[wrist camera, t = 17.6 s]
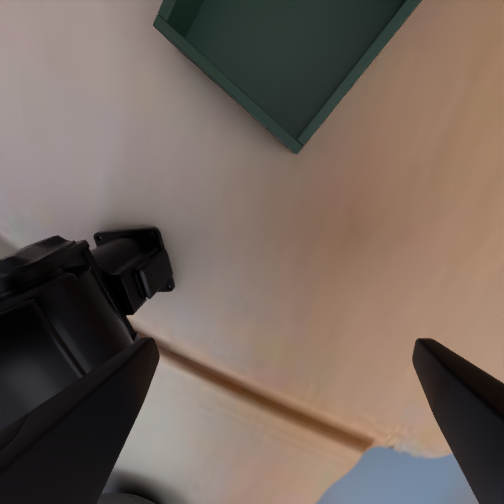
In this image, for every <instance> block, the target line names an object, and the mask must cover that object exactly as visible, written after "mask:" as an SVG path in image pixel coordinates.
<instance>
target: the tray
mask: <svg viewBox="0 0 504 504" xmlns="http://www.w3.org/2000/svg"><path fill="white" fill-rule="evenodd" d="M421 1H422V0H163V2H162V5H161V7H160V9H159V12H158V14H159V15H157V17H156V19H155V21H154V24H153V26H154V27H155V28H156V29H157V30H158V31H159V32H160V33H161V34H162V35H164V36H165V37H166V38H167V39H168V40H169V41H170V42H171V43H172V44H173V45H174V46H175V47H176V48H177V49H178V50H180V51H181V52H182V53H183V54H184V55H185V56H186V57H187V58H189V59H190V60H191V61H192V62H193V63H194V64H195V65H196V66H197V67H199V68H200V69H201V70H202V71H203V72H204V73H205V74H206V75H207V76H209V77H210V78H211V79H212V80H213V81H214V82H215V83H216V84H218V85H219V86H220V87H221V88H222V89H223V90H224V91H225V92H226V93H228V94H229V95H230V96H231V97H232V98H233V99H234V100H235V101H236V102H238V103H239V104H240V105H241V106H242V107H243V108H244V109H245V110H247V111H248V112H249V113H250V114H251V115H252V116H253V117H254V118H255V119H257V120H258V121H259V122H260V123H261V124H262V125H263V126H264V127H265V128H267V129H268V130H269V131H270V132H271V133H272V134H273V135H274V136H276V137H277V138H278V139H279V140H280V141H281V142H282V143H283V144H284V145H286V146H287V147H288V148H289V149H290V150H291V151H292V152H293V153H295V154H298V152H299V151H300V150H301V149H302V147H303V146H304V145H305V144H306V143H307V141H308V140H309V139H310V138H311V136H312V135H313V134H314V133H315V131H316V130H317V129H318V128H319V126H320V125H321V124H322V123H323V122H324V120H325V119H326V118H327V117H328V115H329V114H330V113H331V112H332V110H333V109H334V108H335V107H336V106H337V104H338V103H339V102H340V101H341V99H342V98H343V97H344V96H345V94H346V93H347V92H348V91H349V90H350V88H351V87H352V86H353V85H354V83H355V82H356V81H357V80H358V78H359V77H360V76H361V75H362V73H363V72H364V71H365V70H366V69H367V67H368V66H369V65H370V64H371V62H372V61H373V60H374V59H375V57H376V56H377V55H378V54H379V53H380V51H381V50H382V49H383V48H384V46H385V45H386V44H387V43H388V41H389V40H390V39H391V38H392V36H393V35H394V34H395V33H396V32H397V30H398V29H399V28H400V27H401V25H402V24H403V23H404V22H405V20H406V19H407V18H408V17H409V16H410V14H411V13H412V12H413V11H414V9H415V8H416V7H417V6H418V4H419V3H420V2H421Z"/></svg>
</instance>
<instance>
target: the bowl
mask: <svg viewBox="0 0 504 504" xmlns="http://www.w3.org/2000/svg"><path fill="white" fill-rule="evenodd" d="M97 504H156V503H154V502H152V501H149V500H147V499H145V498H142V497H140V496H137V495H134V494H127V493H105V494H101V495H100V497H99V499H98V502H97Z"/></svg>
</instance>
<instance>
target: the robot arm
mask: <svg viewBox="0 0 504 504" xmlns="http://www.w3.org/2000/svg"><path fill="white" fill-rule="evenodd" d="M153 232H155V234H156V235H154V234H153ZM99 236H100V237H101V239H100V237H99ZM94 240H95V243H96V245H97V248H95V249H93V250H91V251H90V250H89V248H88V247H90V246H89V244H88V242H87V240H86V239H85V240H81V241H77V242H75V241H69V240H68V241H67V240H65V239H64V238H62V237H60V236H58V235H57V236H53V237H49V238H47V239H44V240H41V241H39V242H36V243H33V244H31V245H28V246H26V247H23V248H21V249H19V250H17V251H15V252H13V253H12V254H10V255H7V256H5V257H4V258H2V259H0V504H97V502H98V499H99V497H100V495H101V493H102V491H103V489H104V487H105V484H106V482H107V480H108V478H109V476H110V474H111V472H112V469H113V467H114V465H115V463H116V461H117V459H118V457H119V454H120V452H121V450H122V448H123V446H124V444H125V442H126V439H127V437H128V435H129V433H130V431H131V429H132V427H133V424H134V422H135V420H136V418H137V416H138V414H139V412H140V409H141V407H142V405H143V403H144V400H145V397H146V395H147V392H148V389H149V387H150V384H151V381H152V378H153V376H154V373H155V370H156V367H157V365H158V362H159V357H160V355H159V351H158V348H157V345H156V343H155V340H154V339H153V338H151V337H144V338H141V339H139V338H140V337H139V336H138V334H137V332H135V331H134V330H133V328H132V326H131V324H130V322H129V320H128V319H127V317H126V316H127V315H133V314H134V313H135V312H136V311H137V310H138V309H139V308H140V307H141V306H142V305H143V304H144V303H145V301H146V300H147V299H151V298H152V297H153V296H154V295H155V293H156V292H170V291H172V290H173V289H174V288H175V284H174V280H173V277H172V274H173V273H172V269H171V265H170V262H169V258H168V254H167V251H166V250H165V248H164V244H163V241H162V237H161V233H160V231H159V230H158V229H157V228H154V227H153V228H141V229H128V230H116V231H104V232H98V233H95V234H94ZM168 285H169V286H170V287H169V286H168ZM412 361H413V365H414V368H415V370H416V373H417V375H418V378H419V380H420V383H421V385H422V388H423V390H424V393H425V395H426V398H427V400H428V403H429V405H430V408H431V410H432V412H433V415H434V417H435V419H436V421H437V423H438V425H439V427H440V429H441V431H442V433H443V435H444V437H445V439H446V441H447V443H448V444H449V446H450V448H451V450H452V452H453V454H454V456H455V458H456V460H457V462H458V464H459V466H460V468H461V470H462V471H463V473H464V475H465V477H466V479H467V481H468V483H469V485H470V487H471V489H472V491H473V493H474V495H475V496H476V498H477V500H478V502H479V504H504V383H502V382H501V381H499V380H497V379H496V378H494V377H493V376H491V375H489V374H488V373H486V372H485V371H483V370H481V369H480V368H478V367H477V366H475V365H473V364H472V363H470V362H469V361H467V360H466V359H464V358H462V357H461V356H459V355H458V354H456V353H454V352H453V351H451V350H450V349H448V348H446V347H445V346H443V345H442V344H440V343H439V342H437V341H435V340H433V339H430V338H419V339H417V340H416V342H415V346H414V351H413V357H412Z"/></svg>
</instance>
